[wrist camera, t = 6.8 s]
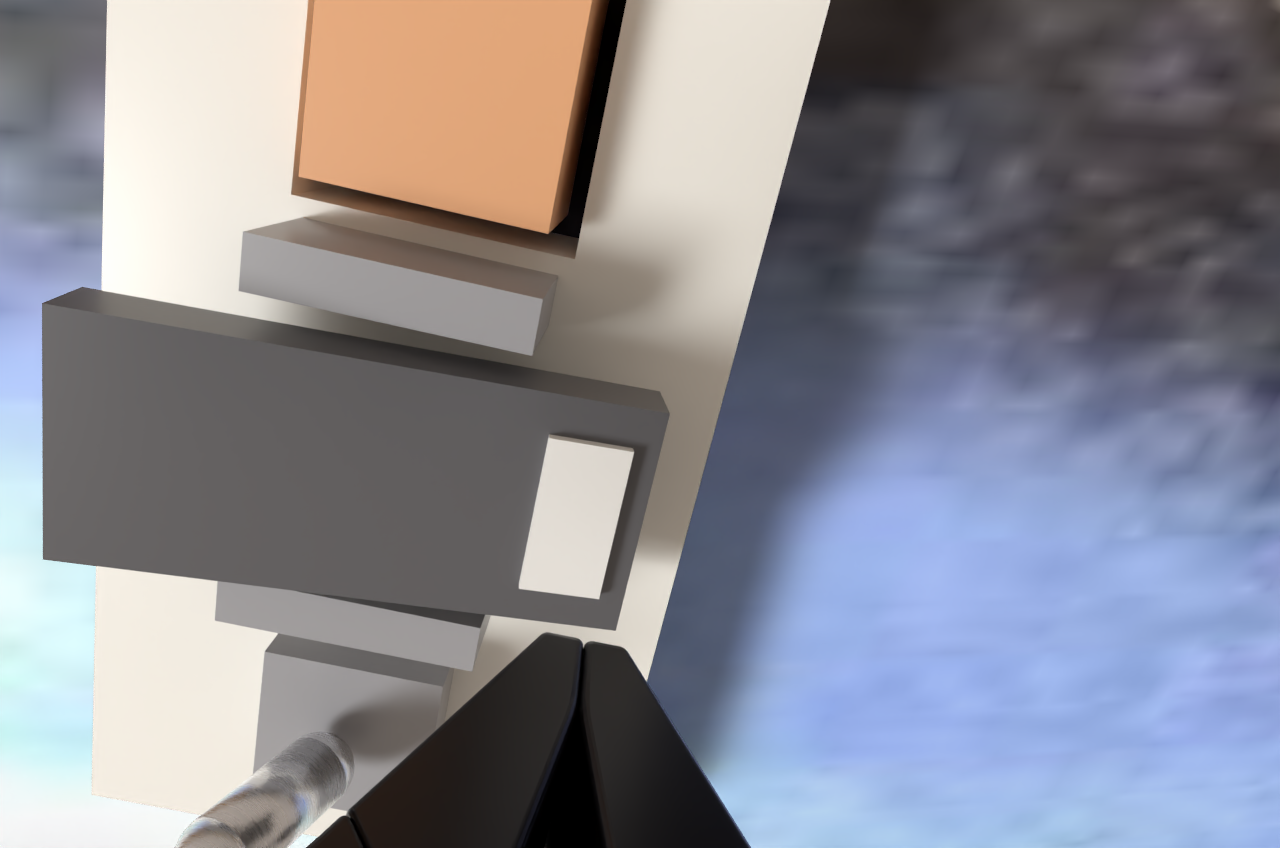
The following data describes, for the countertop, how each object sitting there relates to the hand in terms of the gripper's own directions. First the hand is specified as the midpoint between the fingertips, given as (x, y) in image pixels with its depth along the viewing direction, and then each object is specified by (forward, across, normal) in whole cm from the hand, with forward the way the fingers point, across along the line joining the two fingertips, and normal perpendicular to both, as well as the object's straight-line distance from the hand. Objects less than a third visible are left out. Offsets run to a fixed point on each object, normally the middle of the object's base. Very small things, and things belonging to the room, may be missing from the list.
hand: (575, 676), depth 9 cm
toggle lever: (+5, +3, +6) cm, 8 cm away
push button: (+8, +3, -5) cm, 10 cm away
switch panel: (+8, +3, 0) cm, 9 cm away
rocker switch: (+4, +3, 0) cm, 5 cm away
